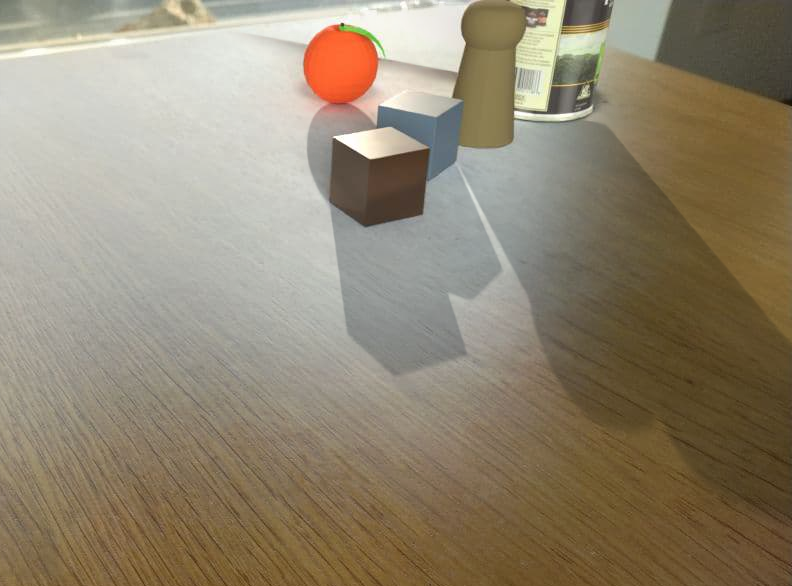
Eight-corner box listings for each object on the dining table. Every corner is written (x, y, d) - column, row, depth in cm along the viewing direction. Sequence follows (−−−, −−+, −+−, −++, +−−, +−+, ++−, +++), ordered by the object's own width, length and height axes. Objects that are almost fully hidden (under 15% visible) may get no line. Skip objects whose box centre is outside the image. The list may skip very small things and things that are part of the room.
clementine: (397, 99, 93) (404, 21, 89) (366, 120, 88) (372, 38, 84) (322, 86, 96) (326, 9, 92) (288, 105, 91) (290, 26, 87)
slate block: (456, 161, 80) (464, 100, 77) (429, 180, 77) (436, 117, 74) (401, 148, 82) (407, 88, 79) (373, 167, 79) (377, 105, 76)
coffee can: (586, 90, 95) (617, -69, 87) (599, 126, 87) (636, -46, 79) (478, 84, 97) (499, -73, 89) (481, 119, 88) (505, -51, 80)
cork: (457, 119, 88) (474, -11, 82) (522, 131, 86) (545, -2, 79) (431, 139, 84) (447, 4, 78) (499, 153, 82) (521, 14, 75)
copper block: (423, 214, 71) (430, 147, 68) (364, 227, 69) (370, 159, 67) (385, 190, 75) (390, 126, 72) (329, 201, 73) (332, 136, 70)
